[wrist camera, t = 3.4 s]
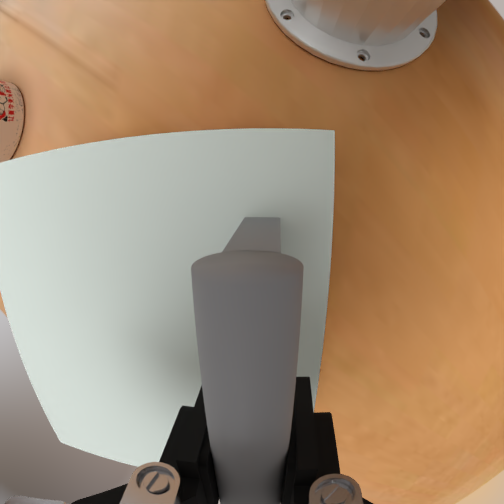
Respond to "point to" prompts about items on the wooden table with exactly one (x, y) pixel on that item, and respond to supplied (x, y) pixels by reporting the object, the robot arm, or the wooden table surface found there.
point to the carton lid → (173, 290)
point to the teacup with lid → (10, 119)
